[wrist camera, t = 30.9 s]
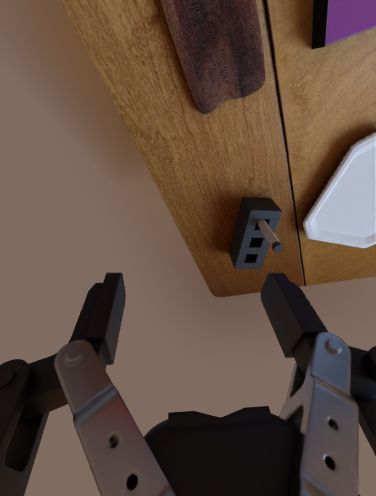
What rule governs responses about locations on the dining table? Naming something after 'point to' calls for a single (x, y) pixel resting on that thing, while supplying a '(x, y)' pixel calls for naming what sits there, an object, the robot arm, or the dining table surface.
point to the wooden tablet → (217, 48)
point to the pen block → (253, 232)
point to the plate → (348, 200)
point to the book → (341, 20)
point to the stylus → (269, 235)
